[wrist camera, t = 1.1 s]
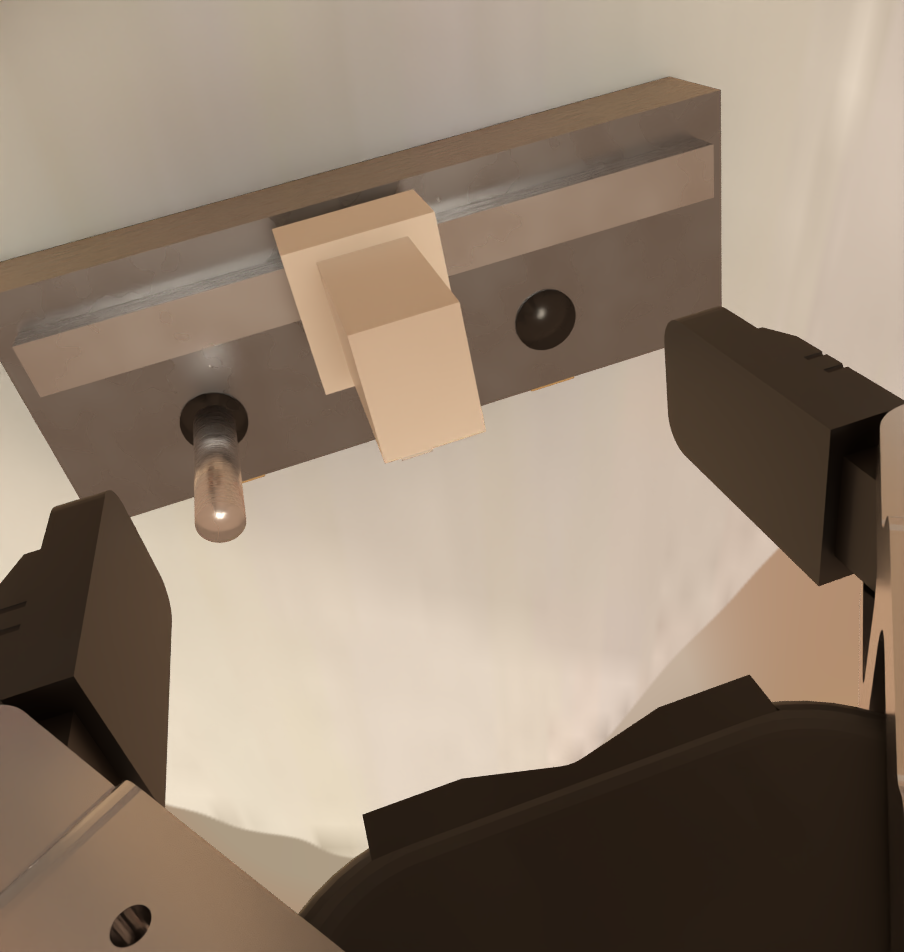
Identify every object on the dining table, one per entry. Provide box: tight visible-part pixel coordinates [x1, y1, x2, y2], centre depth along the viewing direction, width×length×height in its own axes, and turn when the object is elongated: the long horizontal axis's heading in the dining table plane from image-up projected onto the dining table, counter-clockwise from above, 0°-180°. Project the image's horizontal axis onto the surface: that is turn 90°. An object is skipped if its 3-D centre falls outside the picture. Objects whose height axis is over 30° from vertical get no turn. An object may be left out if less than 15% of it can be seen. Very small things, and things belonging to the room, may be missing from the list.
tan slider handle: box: [272, 189, 486, 463], centre depth 27 cm, size 8×5×10 cm, turn 13°
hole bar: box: [0, 77, 722, 543], centre depth 31 cm, size 10×28×11 cm, turn 103°
